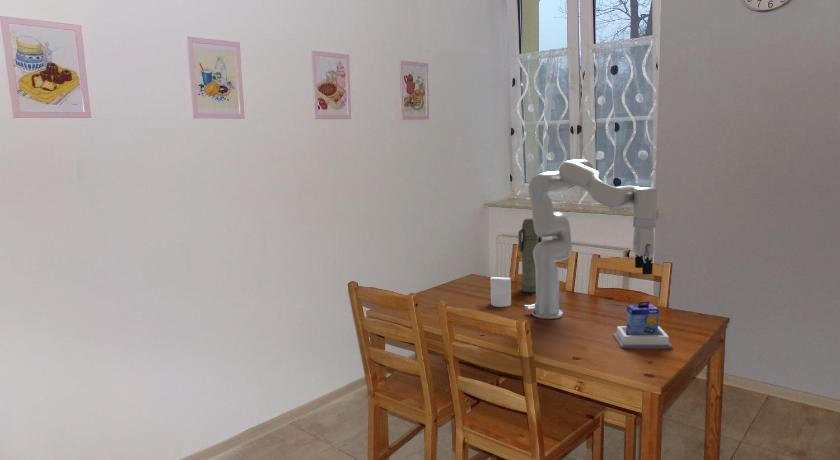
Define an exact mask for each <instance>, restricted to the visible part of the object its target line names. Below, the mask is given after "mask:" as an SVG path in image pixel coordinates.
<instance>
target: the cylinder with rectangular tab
mask: <svg viewBox="0 0 840 460" xmlns="http://www.w3.org/2000/svg"><path fill="white" fill-rule="evenodd" d="M489 279H490V280H489V281H490V304H491V306H492V305H493V307H495V308H496V307H498V308H505V307H509V306H511V305H512V290H511V289H512V285H511V284H512V283H511V282H512V278H511V277H503V276H502V277H500V276H492V277H490V278H489Z"/></svg>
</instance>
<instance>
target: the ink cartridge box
mask: <svg viewBox="0 0 840 460" xmlns="http://www.w3.org/2000/svg"><path fill="white" fill-rule="evenodd" d="M650 302H651V301H639V303H638V304H630V305H626V323H625V326H626V335H657V334H658V326H659V312H660V309H659V307H657V306H656V305H654V304H653V303H651V304H650Z"/></svg>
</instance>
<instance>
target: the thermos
mask: <svg viewBox="0 0 840 460" xmlns="http://www.w3.org/2000/svg"><path fill="white" fill-rule="evenodd" d="M517 237H518V251H519V252H520V256H521V257H522V258H521V260H522V261H521V269H522V270H521V272H522V274H521V277H520V279H521V280H520V282H521V283H520V285H521V291H522V292H524V293H531V292H532V293H536V270H535V262H534V257H533V249H534V247H535V246H536V245H537V244H538V243H539V242H542V241H543V240H542V239H543V237H539V236H537V235H536V233H535V230H534V223H533V218H525V219H523V222H522V224H521V229H519V231H518V236H517Z"/></svg>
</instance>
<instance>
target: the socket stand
mask: <svg viewBox="0 0 840 460" xmlns="http://www.w3.org/2000/svg"><path fill="white" fill-rule="evenodd" d="M613 337H614V339H615V341H616V342H617V344H618V345H619V347H620V348H621V349H633V350H634V349H637V350H640V349H642V350H643V349H644V350H645V349H653V350H656V349H657V350H658V349H660V350H661V349H665V350H667V349H669V350H670V349H671V350H673V344H671V342H670V336H669V335H668V334H667V333H666V332H665V331H664V330H663V329H662V327H661V326H659V325H658V334H657V335H626V325H624V326H623V325H621V326H620V325H618V326H616V332H613Z"/></svg>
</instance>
